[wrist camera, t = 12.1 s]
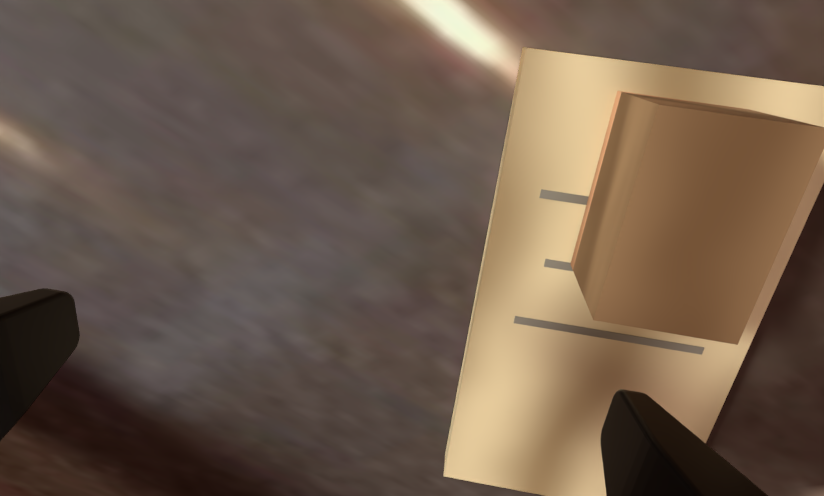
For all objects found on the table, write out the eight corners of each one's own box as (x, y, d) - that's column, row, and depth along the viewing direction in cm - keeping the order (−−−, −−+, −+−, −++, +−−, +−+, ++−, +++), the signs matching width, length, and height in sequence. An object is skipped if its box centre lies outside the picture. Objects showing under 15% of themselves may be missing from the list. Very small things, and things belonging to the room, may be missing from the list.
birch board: (445, 451, 24) (443, 477, 23) (522, 47, 17) (526, 47, 16) (660, 491, 23) (671, 520, 22) (832, 87, 16) (865, 92, 15)
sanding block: (570, 264, 18) (593, 320, 14) (617, 90, 16) (658, 104, 12) (684, 283, 18) (737, 344, 14) (749, 109, 16) (832, 129, 12)
